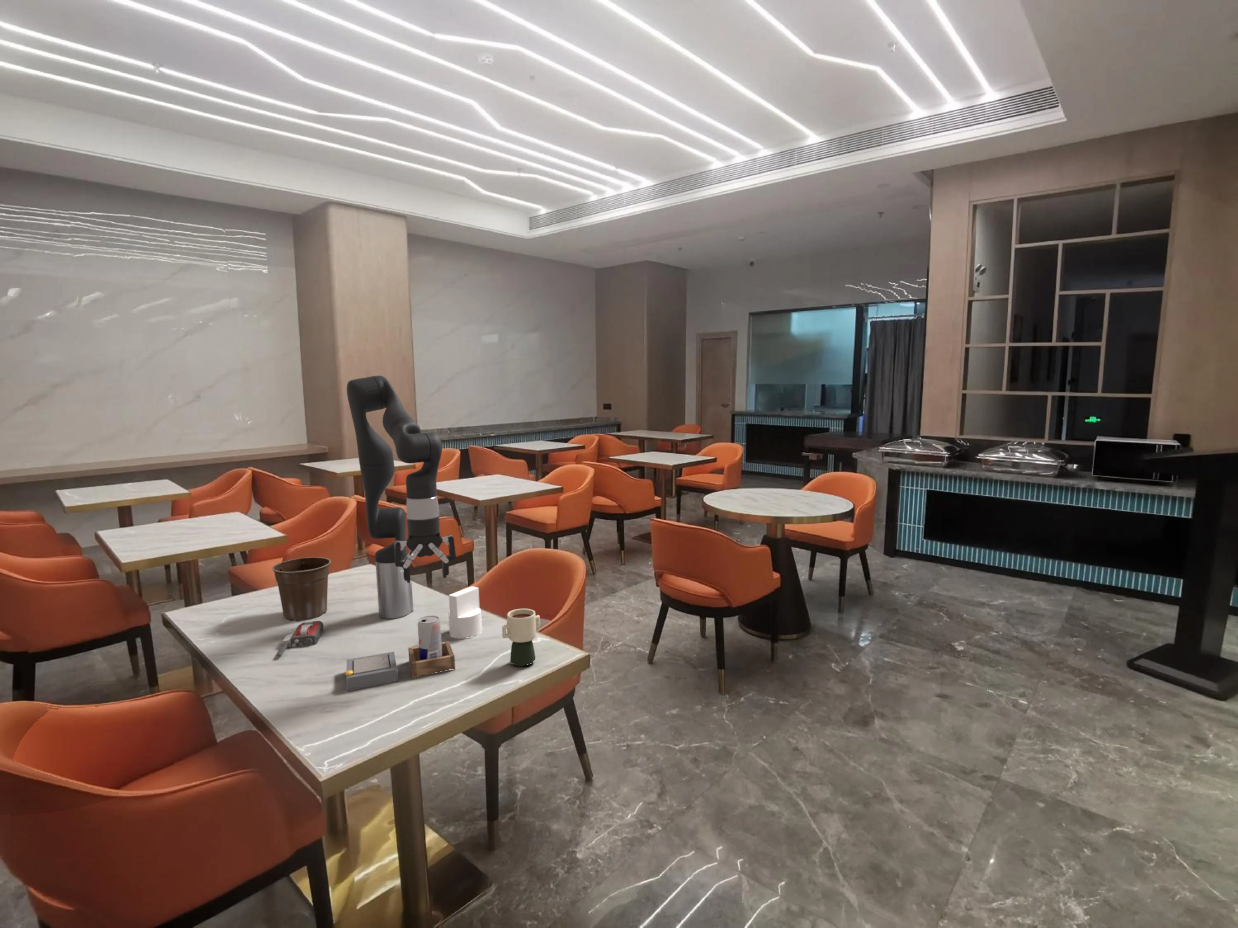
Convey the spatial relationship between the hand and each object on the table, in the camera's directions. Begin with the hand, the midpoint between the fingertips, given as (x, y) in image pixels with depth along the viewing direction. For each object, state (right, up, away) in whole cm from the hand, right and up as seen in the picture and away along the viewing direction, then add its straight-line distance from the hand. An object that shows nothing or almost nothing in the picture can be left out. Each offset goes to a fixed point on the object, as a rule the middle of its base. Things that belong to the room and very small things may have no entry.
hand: (426, 579), depth 152 cm
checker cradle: (-12, -23, -3) cm, 26 cm away
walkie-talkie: (-40, -21, +18) cm, 49 cm away
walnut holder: (0, -22, +2) cm, 22 cm away
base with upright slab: (+4, -20, +23) cm, 31 cm away
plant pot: (-50, -19, +40) cm, 67 cm away
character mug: (+23, -22, +3) cm, 32 cm away
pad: (-12, -21, -3) cm, 25 cm away
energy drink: (0, -22, +2) cm, 22 cm away
